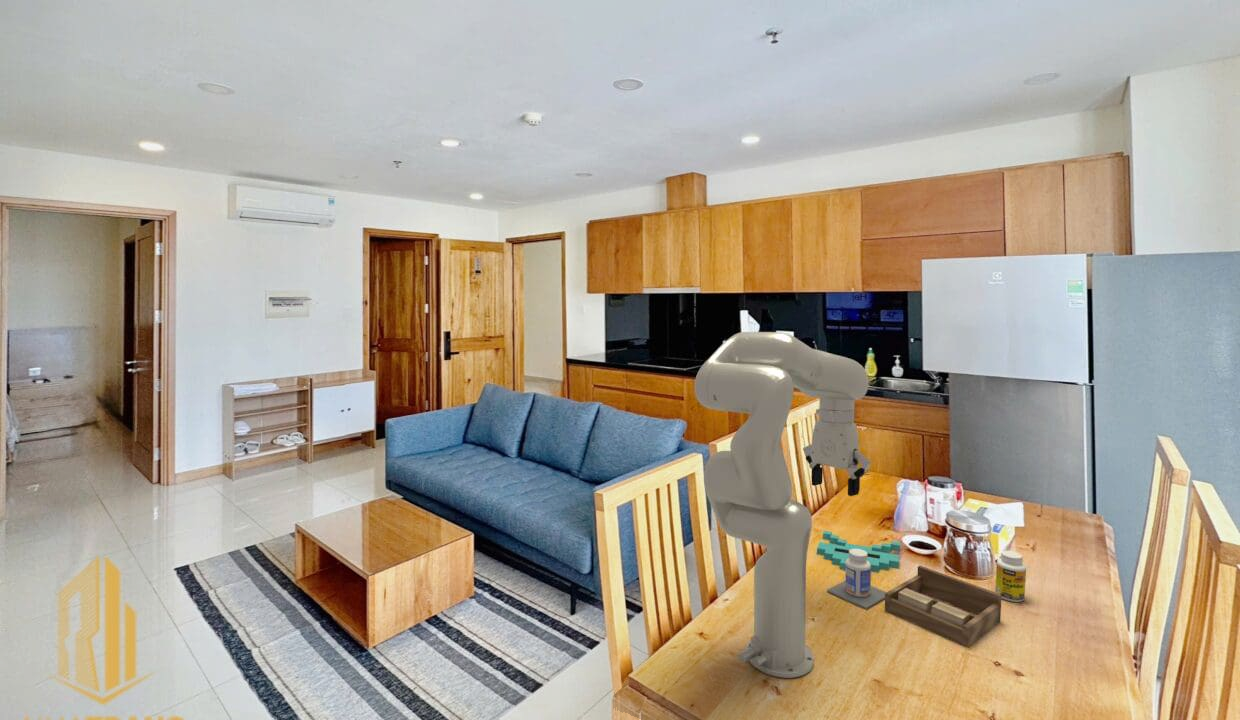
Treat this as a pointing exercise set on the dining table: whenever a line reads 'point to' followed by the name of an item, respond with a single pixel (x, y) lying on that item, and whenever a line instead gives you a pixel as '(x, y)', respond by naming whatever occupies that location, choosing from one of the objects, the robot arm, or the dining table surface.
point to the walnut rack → (952, 593)
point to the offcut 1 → (916, 600)
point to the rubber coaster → (862, 602)
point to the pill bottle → (858, 573)
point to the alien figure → (874, 553)
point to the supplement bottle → (1011, 576)
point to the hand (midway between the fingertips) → (834, 489)
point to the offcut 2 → (950, 614)
